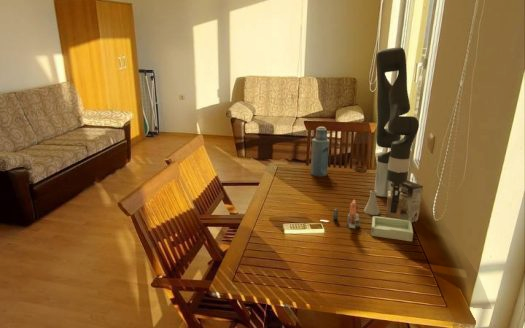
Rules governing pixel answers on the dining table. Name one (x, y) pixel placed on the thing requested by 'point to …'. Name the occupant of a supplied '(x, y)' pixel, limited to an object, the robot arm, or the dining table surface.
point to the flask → (372, 204)
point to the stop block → (388, 208)
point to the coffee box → (410, 201)
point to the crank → (353, 215)
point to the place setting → (359, 167)
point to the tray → (392, 228)
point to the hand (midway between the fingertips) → (393, 209)
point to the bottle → (320, 153)
